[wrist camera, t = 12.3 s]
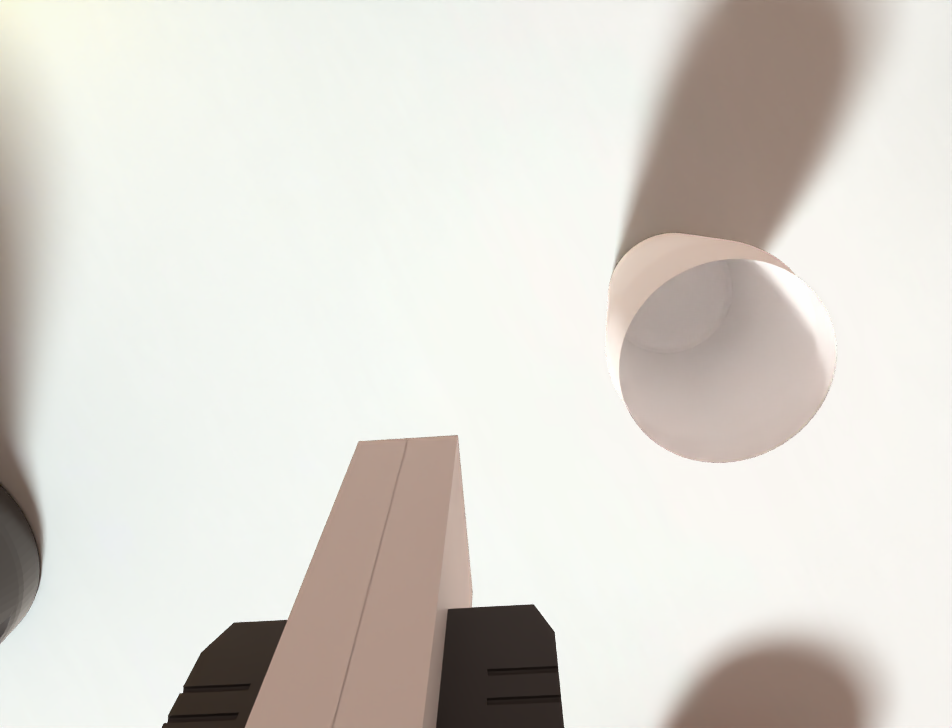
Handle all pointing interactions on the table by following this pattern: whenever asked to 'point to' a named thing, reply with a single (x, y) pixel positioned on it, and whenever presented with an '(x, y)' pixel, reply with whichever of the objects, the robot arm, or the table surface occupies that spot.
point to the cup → (716, 346)
